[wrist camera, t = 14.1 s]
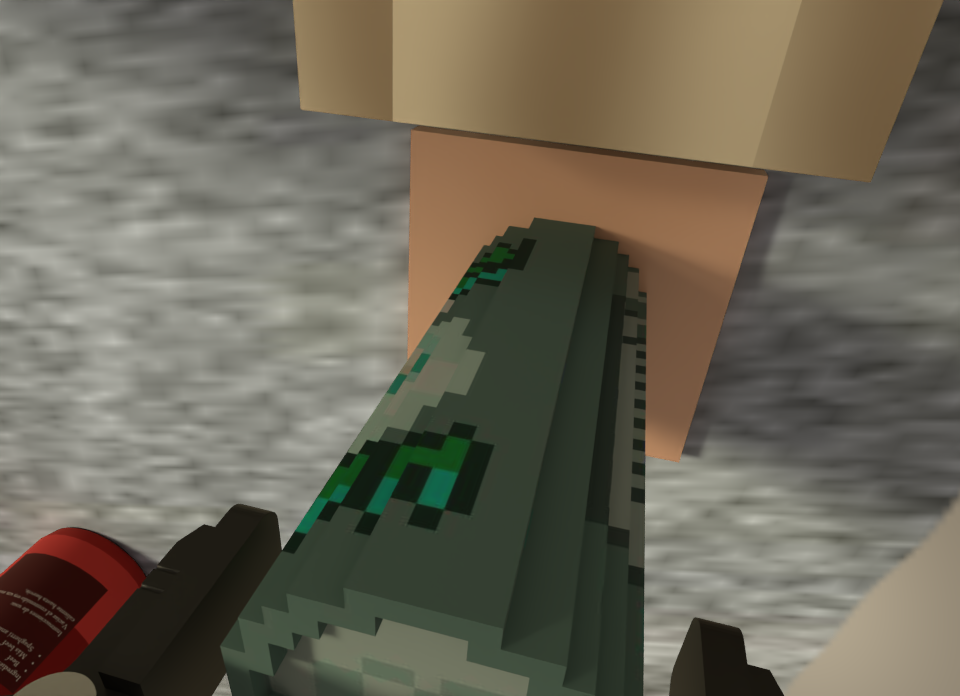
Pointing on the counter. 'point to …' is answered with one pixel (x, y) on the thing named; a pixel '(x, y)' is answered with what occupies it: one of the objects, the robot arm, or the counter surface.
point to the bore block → (628, 73)
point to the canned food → (59, 602)
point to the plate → (617, 216)
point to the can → (480, 501)
